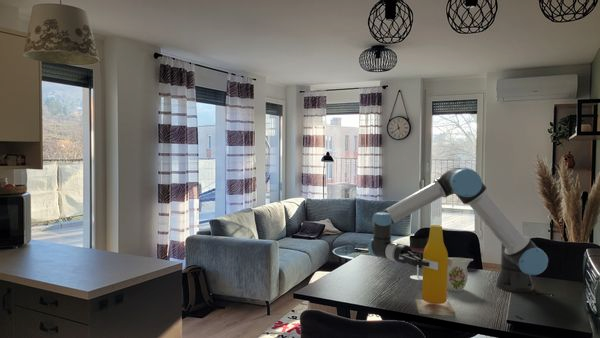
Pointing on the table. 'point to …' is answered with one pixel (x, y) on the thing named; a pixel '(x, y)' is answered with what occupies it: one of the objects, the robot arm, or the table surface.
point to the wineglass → (418, 249)
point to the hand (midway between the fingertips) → (445, 264)
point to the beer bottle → (434, 279)
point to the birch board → (434, 308)
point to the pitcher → (457, 274)
